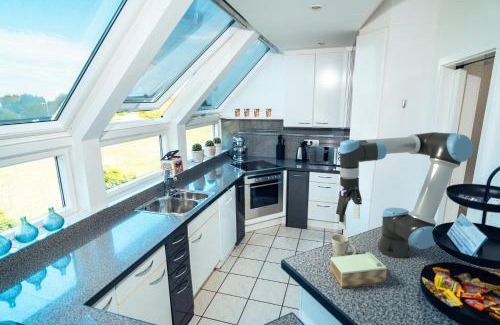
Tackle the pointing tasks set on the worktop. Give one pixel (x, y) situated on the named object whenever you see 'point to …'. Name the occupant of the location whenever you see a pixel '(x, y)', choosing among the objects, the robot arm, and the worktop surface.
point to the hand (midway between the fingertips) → (349, 223)
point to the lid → (357, 263)
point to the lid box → (358, 277)
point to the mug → (341, 245)
